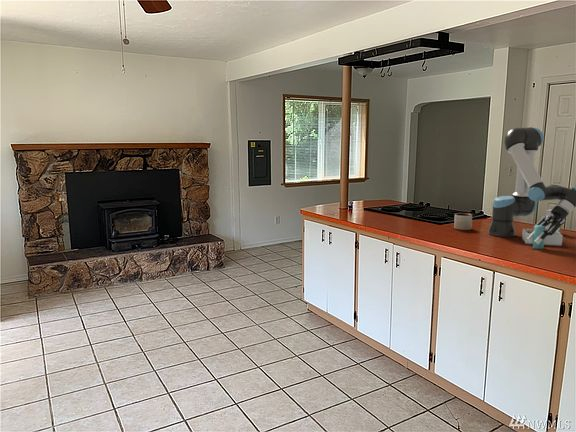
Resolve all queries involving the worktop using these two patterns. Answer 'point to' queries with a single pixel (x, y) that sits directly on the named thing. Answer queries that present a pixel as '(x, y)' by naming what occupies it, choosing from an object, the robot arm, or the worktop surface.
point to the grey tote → (549, 240)
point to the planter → (463, 221)
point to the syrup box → (548, 222)
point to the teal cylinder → (537, 231)
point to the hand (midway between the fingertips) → (532, 241)
